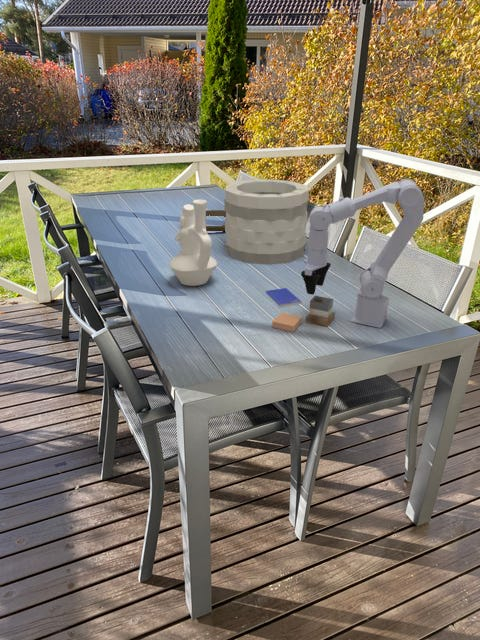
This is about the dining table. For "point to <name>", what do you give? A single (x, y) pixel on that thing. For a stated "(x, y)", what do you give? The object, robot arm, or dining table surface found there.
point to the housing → (321, 307)
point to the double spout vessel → (193, 246)
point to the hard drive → (283, 297)
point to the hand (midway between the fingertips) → (314, 289)
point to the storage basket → (266, 221)
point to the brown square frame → (215, 213)
